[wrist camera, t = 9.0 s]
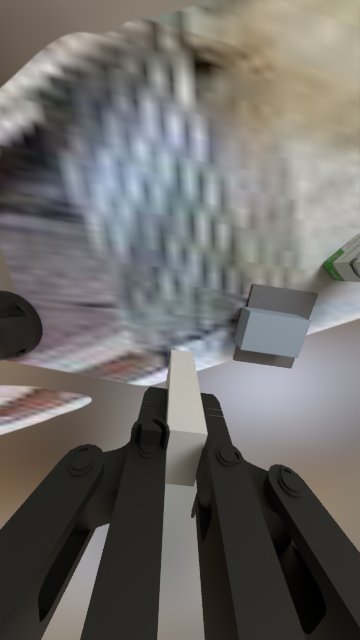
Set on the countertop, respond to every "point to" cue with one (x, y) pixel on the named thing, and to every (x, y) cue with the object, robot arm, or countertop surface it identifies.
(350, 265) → the ink box
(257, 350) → the block
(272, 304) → the mat
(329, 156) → the countertop surface
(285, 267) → the countertop surface
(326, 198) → the countertop surface
